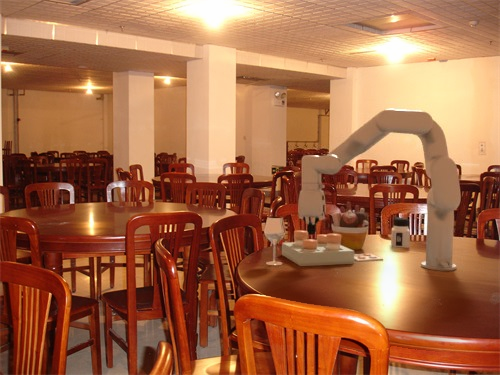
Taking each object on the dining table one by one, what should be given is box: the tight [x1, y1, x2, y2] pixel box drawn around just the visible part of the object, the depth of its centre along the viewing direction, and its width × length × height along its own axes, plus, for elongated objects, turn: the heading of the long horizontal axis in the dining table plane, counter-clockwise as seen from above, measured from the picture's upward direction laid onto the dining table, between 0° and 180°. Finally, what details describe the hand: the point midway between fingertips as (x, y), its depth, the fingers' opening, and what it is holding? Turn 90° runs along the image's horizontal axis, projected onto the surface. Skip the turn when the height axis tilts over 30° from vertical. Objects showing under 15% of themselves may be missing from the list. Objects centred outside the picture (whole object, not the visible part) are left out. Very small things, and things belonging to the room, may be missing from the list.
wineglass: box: [263, 215, 287, 267], centre depth 210 cm, size 8×8×18 cm
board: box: [281, 241, 355, 267], centre depth 220 cm, size 22×22×5 cm
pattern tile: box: [354, 253, 384, 262], centre depth 224 cm, size 11×11×1 cm
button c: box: [303, 238, 317, 251], centre depth 214 cm, size 6×6×7 cm
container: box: [390, 217, 411, 249], centre depth 252 cm, size 8×8×13 cm
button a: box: [326, 233, 341, 250], centre depth 217 cm, size 6×6×7 cm
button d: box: [293, 229, 309, 247], centre depth 224 cm, size 6×6×7 cm
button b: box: [316, 233, 327, 246], centre depth 226 cm, size 6×6×7 cm
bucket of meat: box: [330, 201, 370, 251], centre depth 245 cm, size 20×16×20 cm
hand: (311, 234), depth 214 cm, fingers closed
